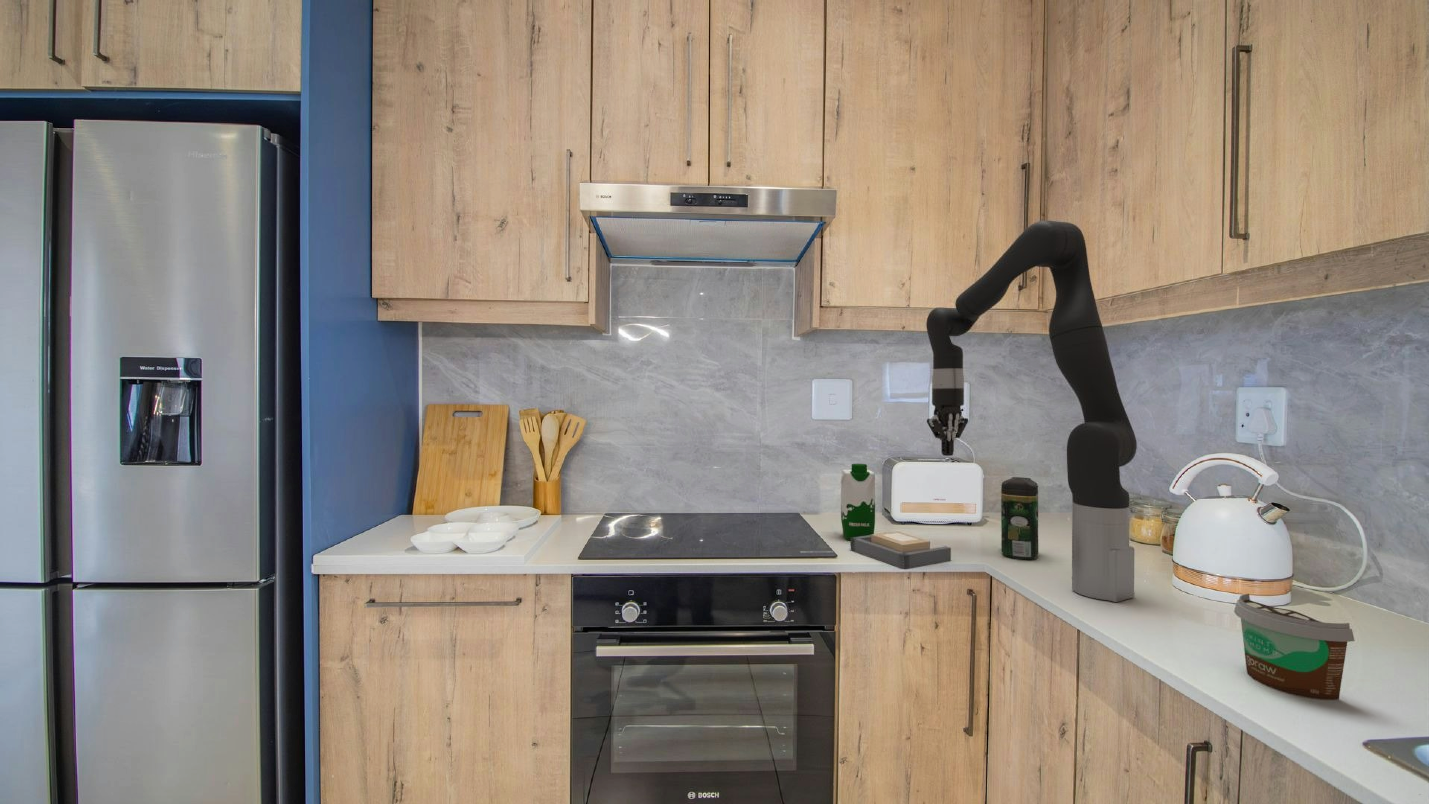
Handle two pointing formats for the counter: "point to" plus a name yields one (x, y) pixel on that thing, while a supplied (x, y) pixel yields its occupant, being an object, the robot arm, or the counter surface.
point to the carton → (900, 541)
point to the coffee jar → (1019, 518)
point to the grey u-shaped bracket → (900, 553)
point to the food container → (1293, 650)
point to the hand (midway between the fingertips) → (947, 455)
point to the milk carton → (857, 501)
